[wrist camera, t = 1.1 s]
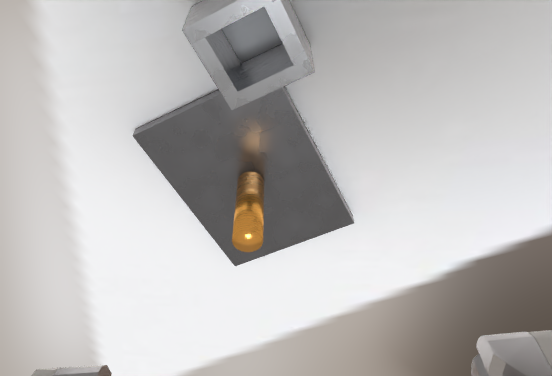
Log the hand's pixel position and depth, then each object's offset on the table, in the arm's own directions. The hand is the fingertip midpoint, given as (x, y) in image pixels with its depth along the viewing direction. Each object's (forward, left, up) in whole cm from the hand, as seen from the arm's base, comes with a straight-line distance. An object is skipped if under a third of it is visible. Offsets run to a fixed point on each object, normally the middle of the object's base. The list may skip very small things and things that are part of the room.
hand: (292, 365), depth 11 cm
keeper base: (+8, +12, -27) cm, 31 cm away
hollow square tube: (+2, +1, -27) cm, 27 cm away
